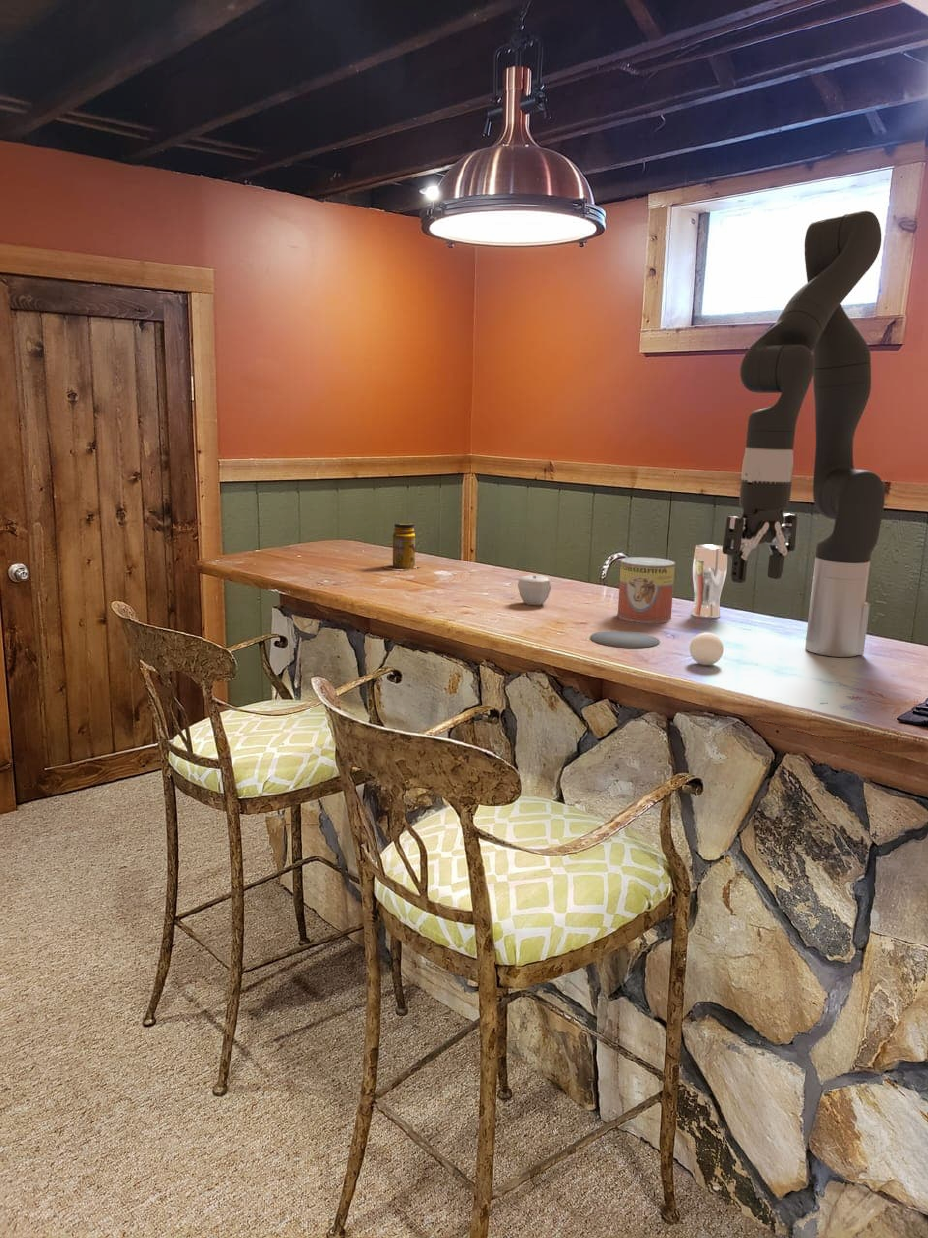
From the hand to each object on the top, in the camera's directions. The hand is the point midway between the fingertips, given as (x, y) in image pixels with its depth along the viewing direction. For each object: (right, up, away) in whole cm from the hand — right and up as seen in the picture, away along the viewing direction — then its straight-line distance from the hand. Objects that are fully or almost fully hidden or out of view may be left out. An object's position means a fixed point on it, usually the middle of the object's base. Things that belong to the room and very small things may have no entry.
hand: (756, 580), depth 146 cm
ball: (-5, -11, +10) cm, 16 cm away
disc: (-16, -10, +27) cm, 33 cm away
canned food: (-9, -6, +48) cm, 49 cm away
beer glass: (+5, -6, +51) cm, 51 cm away
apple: (-31, -3, +58) cm, 66 cm away
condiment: (-64, +8, +102) cm, 121 cm away
